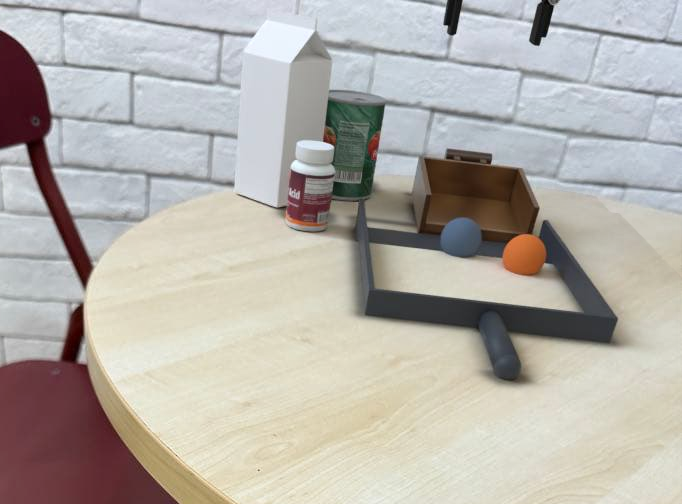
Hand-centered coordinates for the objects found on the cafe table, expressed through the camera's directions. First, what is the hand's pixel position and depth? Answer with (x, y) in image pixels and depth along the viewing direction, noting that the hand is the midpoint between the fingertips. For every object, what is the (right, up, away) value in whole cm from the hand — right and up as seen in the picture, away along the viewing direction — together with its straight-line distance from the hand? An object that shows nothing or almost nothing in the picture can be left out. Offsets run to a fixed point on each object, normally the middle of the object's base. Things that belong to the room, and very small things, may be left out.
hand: (492, 39), depth 97 cm
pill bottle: (-22, -23, -3) cm, 32 cm away
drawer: (-2, -18, +4) cm, 19 cm away
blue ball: (-6, -26, -10) cm, 29 cm away
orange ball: (0, -29, -12) cm, 32 cm away
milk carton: (-25, -16, +5) cm, 30 cm away
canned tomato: (-17, -14, +10) cm, 24 cm away
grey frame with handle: (-6, -35, -17) cm, 40 cm away
